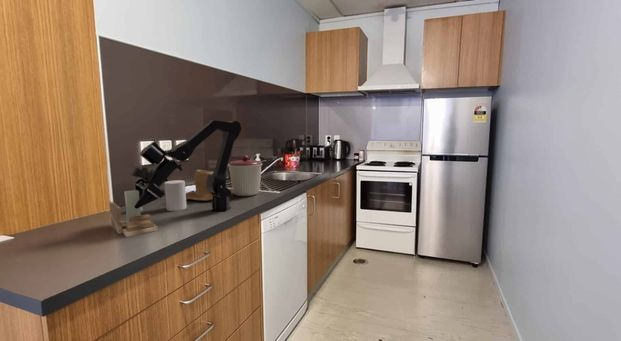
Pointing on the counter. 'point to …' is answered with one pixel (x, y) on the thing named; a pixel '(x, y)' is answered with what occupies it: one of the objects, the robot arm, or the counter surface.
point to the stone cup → (200, 187)
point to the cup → (175, 195)
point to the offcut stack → (139, 223)
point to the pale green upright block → (131, 203)
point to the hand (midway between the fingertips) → (131, 205)
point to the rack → (124, 222)
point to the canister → (245, 176)
